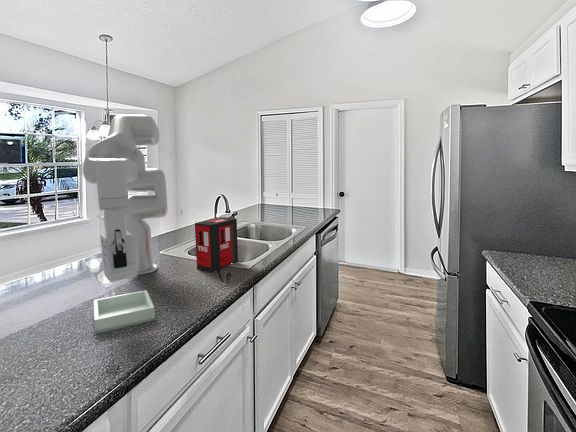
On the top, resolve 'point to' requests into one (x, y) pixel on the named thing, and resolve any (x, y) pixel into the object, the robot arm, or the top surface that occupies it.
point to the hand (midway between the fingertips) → (119, 263)
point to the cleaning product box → (216, 243)
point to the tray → (123, 311)
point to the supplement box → (108, 262)
